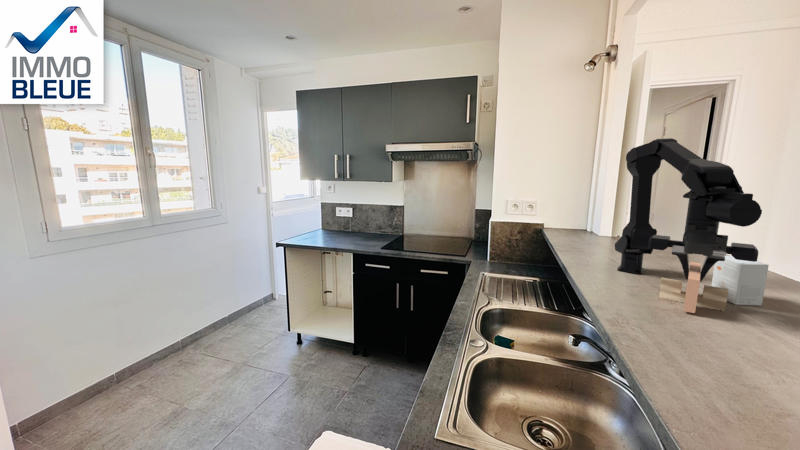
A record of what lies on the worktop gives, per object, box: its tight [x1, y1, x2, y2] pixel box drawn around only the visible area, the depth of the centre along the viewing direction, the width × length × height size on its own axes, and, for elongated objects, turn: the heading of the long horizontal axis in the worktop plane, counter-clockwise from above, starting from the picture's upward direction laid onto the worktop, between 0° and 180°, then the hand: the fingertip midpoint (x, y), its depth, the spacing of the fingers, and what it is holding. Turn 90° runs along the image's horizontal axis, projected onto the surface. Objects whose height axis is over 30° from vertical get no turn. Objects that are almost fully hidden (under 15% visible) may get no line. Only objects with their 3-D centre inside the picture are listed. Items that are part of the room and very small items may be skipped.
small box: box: [711, 255, 770, 306], centre depth 78 cm, size 8×6×10 cm
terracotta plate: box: [683, 261, 702, 314], centre depth 76 cm, size 16×2×8 cm, turn 136°
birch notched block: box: [658, 277, 728, 312], centre depth 77 cm, size 2×12×5 cm, turn 45°
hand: (693, 280), depth 76 cm, fingers closed on terracotta plate, 2 cm apart
